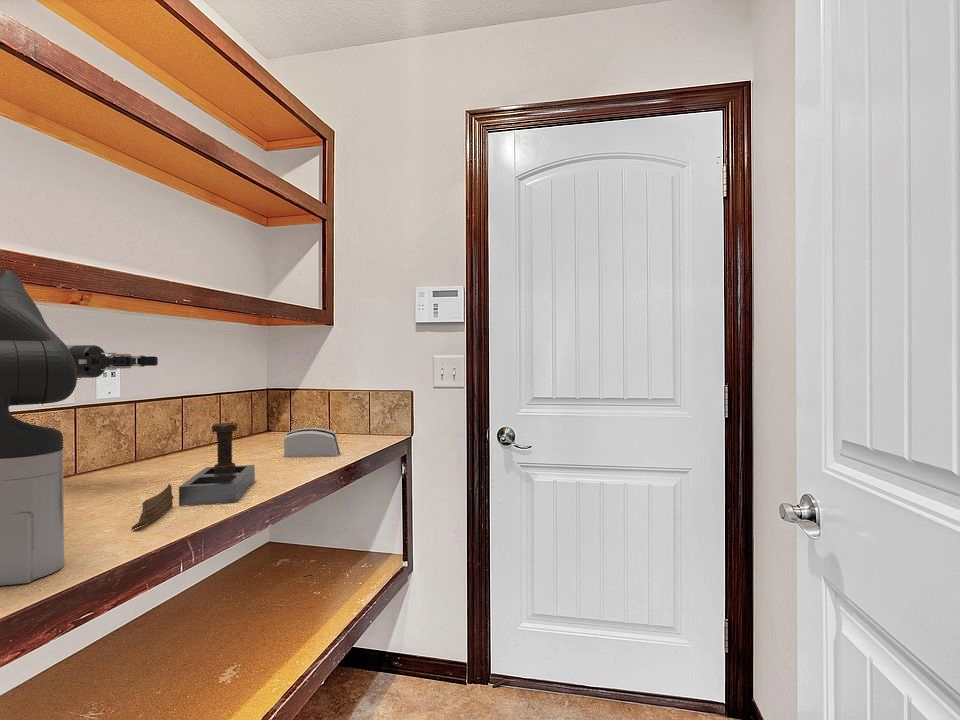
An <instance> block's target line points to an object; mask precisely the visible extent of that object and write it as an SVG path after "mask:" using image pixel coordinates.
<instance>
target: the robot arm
mask: <svg viewBox="0 0 960 720" xmlns="http://www.w3.org/2000/svg"><path fill="white" fill-rule="evenodd" d="M20 278H21V277H20ZM20 278H19V277H18V276H17V275H16V274H15V273H14V272H13V271H11V270H5V271H4V272H2V273H1V274H0V586H7V585H8V586H9V585H10V586H11V585H20V584H28V583H31V582H33V581H35V580H37V579H39V578H43V577H46V576H48V575H51V574H54V573H55V572H57V571H59V570H60V569H62V568H63V567H64V565H65V522H64V521H65V519H64V518H65V517H64V515H65V513H64V512H65V510H64V509H65V508H64V504H65V502H64V493H65V492H64V435H63V432H61V430H59V429H57V428H53V427H47V426H41V425H36V424H32V423H29V422H26V421H22V420H21V419H18V418H16V417H15V416H14V415H12V414H11V412H10V407H12V406H28V405H29V406H30V405H44V404H45V405H46V404H53V403H58V402H61V401H64V400H67V399H68V398H69V397H71V395H72V394H73V393H74V391H75V389H76V387H77V383H78V379H79V378H80V379H85V378H86V379H87V378H91V379H93V378H99V377H100V376H102V375H103V374H104V372H105V371H115V370H117V369H123V370H124V369H131V368H132V367H140V368H141V367H148V366H149V367H157V366H158V365H159V359H158V357H157V356H152V355H151V356H146V355H131V354H130V353H116V352H105V350H103V348H102V347H101V346H98V345H95V344H94V345H93V344H91V345H90V344H89V345H88V344H85V345H78V344H77V345H76V344H74V345H73V344H72V345H70V344H69V345H66V343H65V342H64V341H62V339H61V338H59V336H58V335H57V334H56V333H55V332H53V331H52V329H51V328H50V327H49V326H48V325H47V323H46V320H45V318H44V317H43V315H42V313H41V311H40V309H39V308H38V307H37V305H36V303H35V301H34V300H33V299H32V297H31V296H30V295H29V293H28V292H27V290H26V289H25V287H24V284H23V280H22V279H21V280H20Z"/></svg>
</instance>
